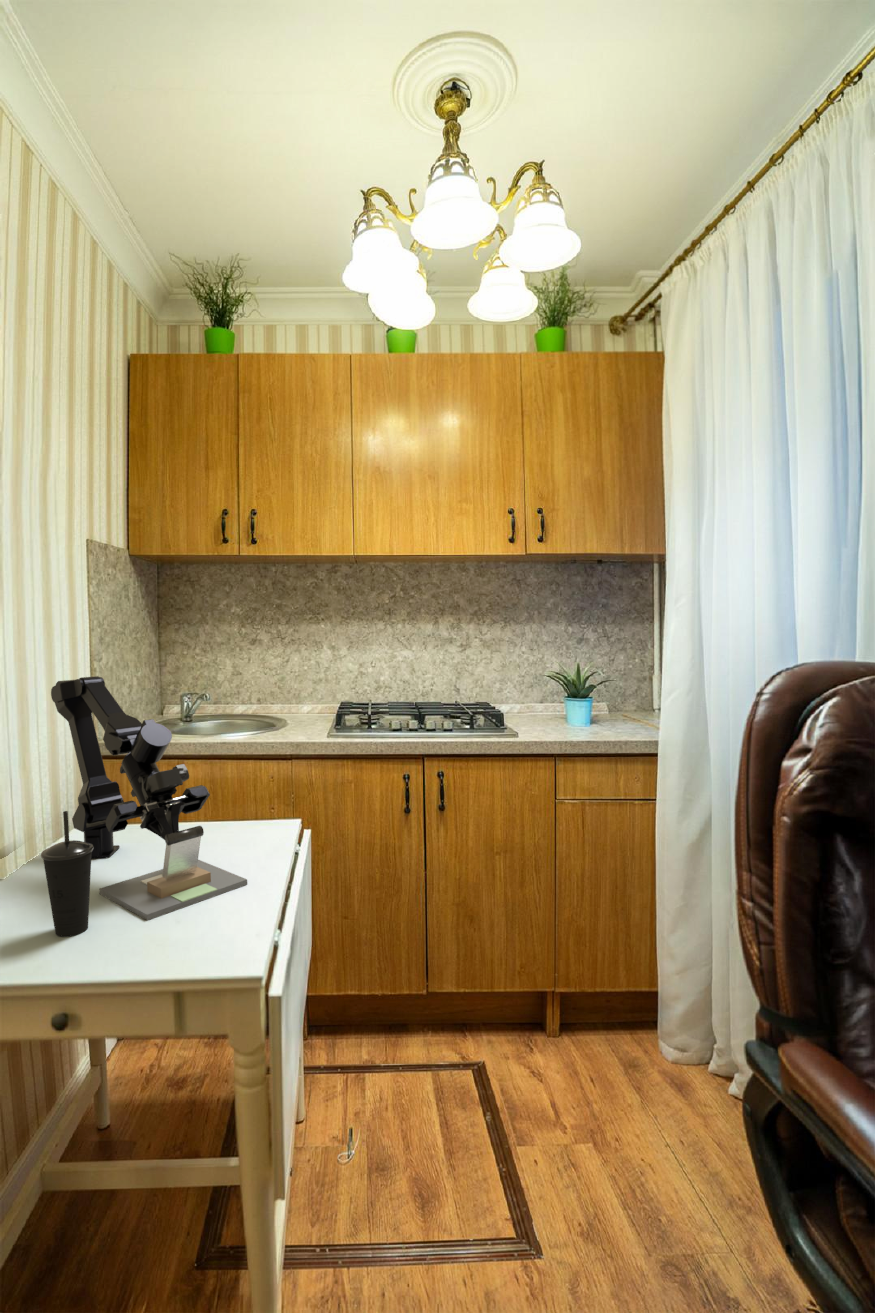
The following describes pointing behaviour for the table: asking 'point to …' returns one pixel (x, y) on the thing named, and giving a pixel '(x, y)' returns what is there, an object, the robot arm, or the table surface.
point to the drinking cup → (68, 883)
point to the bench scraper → (182, 852)
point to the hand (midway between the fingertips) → (176, 845)
